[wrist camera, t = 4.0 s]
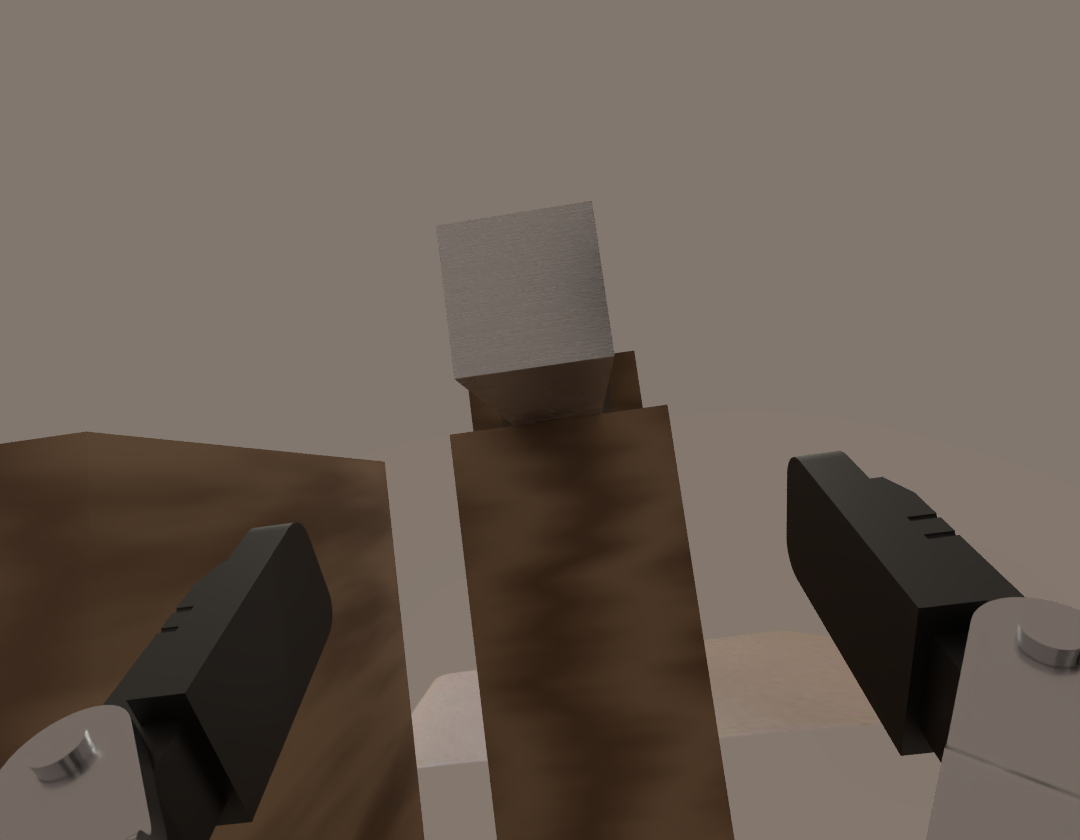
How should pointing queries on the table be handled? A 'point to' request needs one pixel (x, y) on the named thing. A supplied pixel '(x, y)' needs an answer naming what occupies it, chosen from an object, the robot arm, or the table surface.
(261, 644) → the robot arm
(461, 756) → the table surface
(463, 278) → the grey metal bar
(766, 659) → the table surface
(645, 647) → the stand
